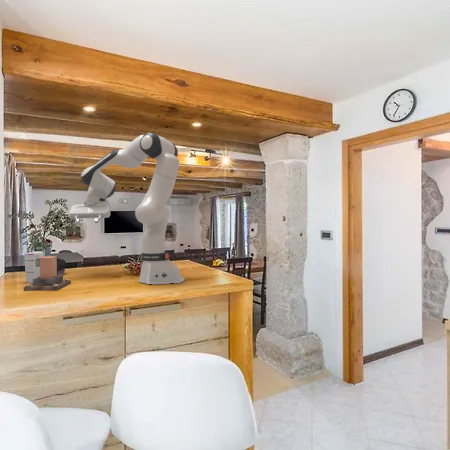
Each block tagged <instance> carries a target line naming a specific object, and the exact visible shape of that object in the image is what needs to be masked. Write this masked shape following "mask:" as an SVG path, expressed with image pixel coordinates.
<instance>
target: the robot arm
mask: <svg viewBox="0 0 450 450" xmlns="http://www.w3.org/2000/svg"><path fill="white" fill-rule="evenodd" d="M178 153H179V151H178V148H177V146H176V145H175V143H173V142H171V141H169V140H167V138H165V137H163V136H160V135H158V134H156V133H153V132H148V133H147V132H146V133H145V134H140V135H138V136H137V137H135V138H134V139H133V140H132V141H131V142H130V143H129V144H127V146H125V147H124V148H122V149H113V150H111V151H110V152H109V153H107V154H105V155H104V156H103V157H101V158H100V159H98V160H97V161H95V162H94V163H93V164H92V165H90V166H88V167H86V168H85V169H83V170H82V172H81V174H80V180H81V182H82V184H83V185H85V186H88V189H87V192H86V196H85V198H84V201H83V203H75V204H73V205H72V206H71V207H70V209H69V211H68V215H69V216H68V217H70V219H73V220H74V219H75V223H76V225H77V224H80V222H81V219H94V223H95V224H99V222H100V221H102V219H107V218H108V219H109V218H110V216H111V206H110V202H109V200H108V198H111V197H112V196H113V195H114V194H115V192H116V190H117V189H116V188H117V184H116V181H114V180H113V179H112V178H110V177H109V176H107V175H105V174H104V173H102V172H101V171H102V170H104V169H106V168H107V167H108V166H110V165H118V166H121V167H124V168H127V169H135V168H138V167H140V166H142V164H143V163H144V162H145V161H146V160H147V159H148V158H151V160H152V159H154V160H155V162H156V165H155V169H154V172H153V175H152V178H151V181H150V185H149V188H148V189H147V192H146V193H145V196H144V197H143V198H142V201H141V203H140V204H139V205H137V207H136V208H135V212H134V215H135V219H136V220H137V221H138V222H139V223H141V224H142V225H145V230H144V233H143V234H142V236H141V254H140V263H141V269H140V275H139V279H138V282H139V283H142V284H147V285H149V284H152V285H166V284H167V285H169V284H170V283H174V284H181V282H182V283H184V282H185V276H183V275H181V271H180V267H178V266H177V264H176V263H175V264H174V262H172V261H171V260H170V255H169V253H168V252H166V232H167V228H168V227H167V226H168V222H169V219H170V216H171V215H170V214H171V213H170V212H171V211H170V209H169V207H167V206H166V204H167V201H168V200H169V199H170V197H171V196H172V194H173V190H174V187H175V183H176V180H177V178H178V173H179V167H180V161H179V160H180V159H179V158H178V155H179V154H178ZM183 281H184V282H183ZM170 285H171V284H170Z"/></svg>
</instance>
